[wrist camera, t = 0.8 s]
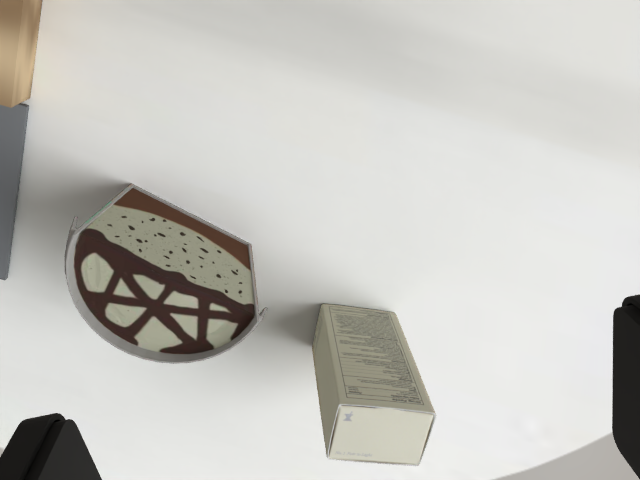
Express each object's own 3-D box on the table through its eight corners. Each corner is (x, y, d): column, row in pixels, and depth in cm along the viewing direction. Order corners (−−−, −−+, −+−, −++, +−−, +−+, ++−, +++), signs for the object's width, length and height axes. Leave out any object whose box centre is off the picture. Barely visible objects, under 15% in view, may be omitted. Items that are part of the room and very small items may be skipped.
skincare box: (311, 347, 48) (321, 461, 37) (321, 299, 46) (335, 403, 35) (387, 357, 49) (419, 470, 38) (400, 310, 47) (438, 414, 36)
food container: (76, 244, 43) (21, 317, 34) (111, 172, 41) (63, 230, 32) (230, 316, 46) (218, 400, 37) (269, 253, 44) (266, 326, 35)
